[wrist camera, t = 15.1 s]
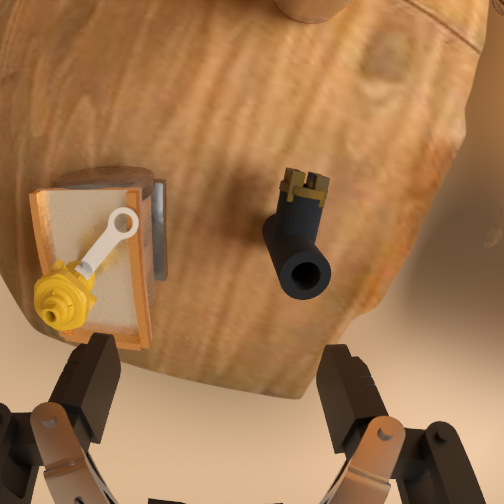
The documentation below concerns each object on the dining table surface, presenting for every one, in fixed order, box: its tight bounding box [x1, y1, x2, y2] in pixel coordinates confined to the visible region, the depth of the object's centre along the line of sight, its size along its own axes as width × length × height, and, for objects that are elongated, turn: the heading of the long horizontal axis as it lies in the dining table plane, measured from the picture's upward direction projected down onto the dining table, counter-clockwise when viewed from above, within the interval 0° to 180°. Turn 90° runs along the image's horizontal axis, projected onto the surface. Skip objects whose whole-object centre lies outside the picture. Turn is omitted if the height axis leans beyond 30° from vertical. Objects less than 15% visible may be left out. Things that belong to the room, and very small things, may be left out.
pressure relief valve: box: [34, 207, 139, 331], centre depth 25 cm, size 6×12×10 cm, turn 132°
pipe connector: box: [263, 168, 331, 300], centre depth 36 cm, size 12×5×15 cm, turn 170°
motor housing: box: [29, 166, 168, 351], centre depth 36 cm, size 18×12×14 cm, turn 175°
